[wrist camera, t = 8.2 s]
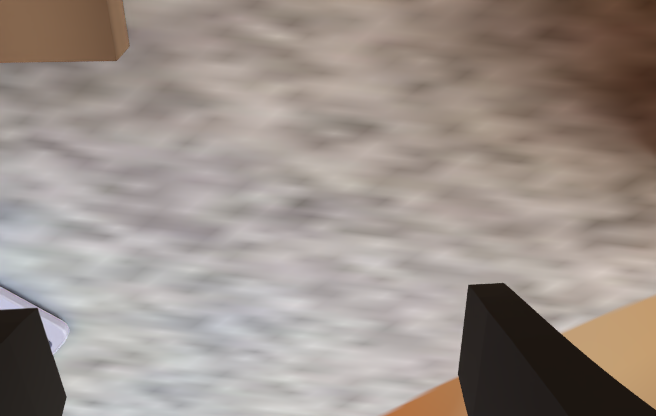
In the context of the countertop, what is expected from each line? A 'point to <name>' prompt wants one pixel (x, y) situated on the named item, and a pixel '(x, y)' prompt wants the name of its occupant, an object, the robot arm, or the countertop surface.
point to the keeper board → (62, 30)
